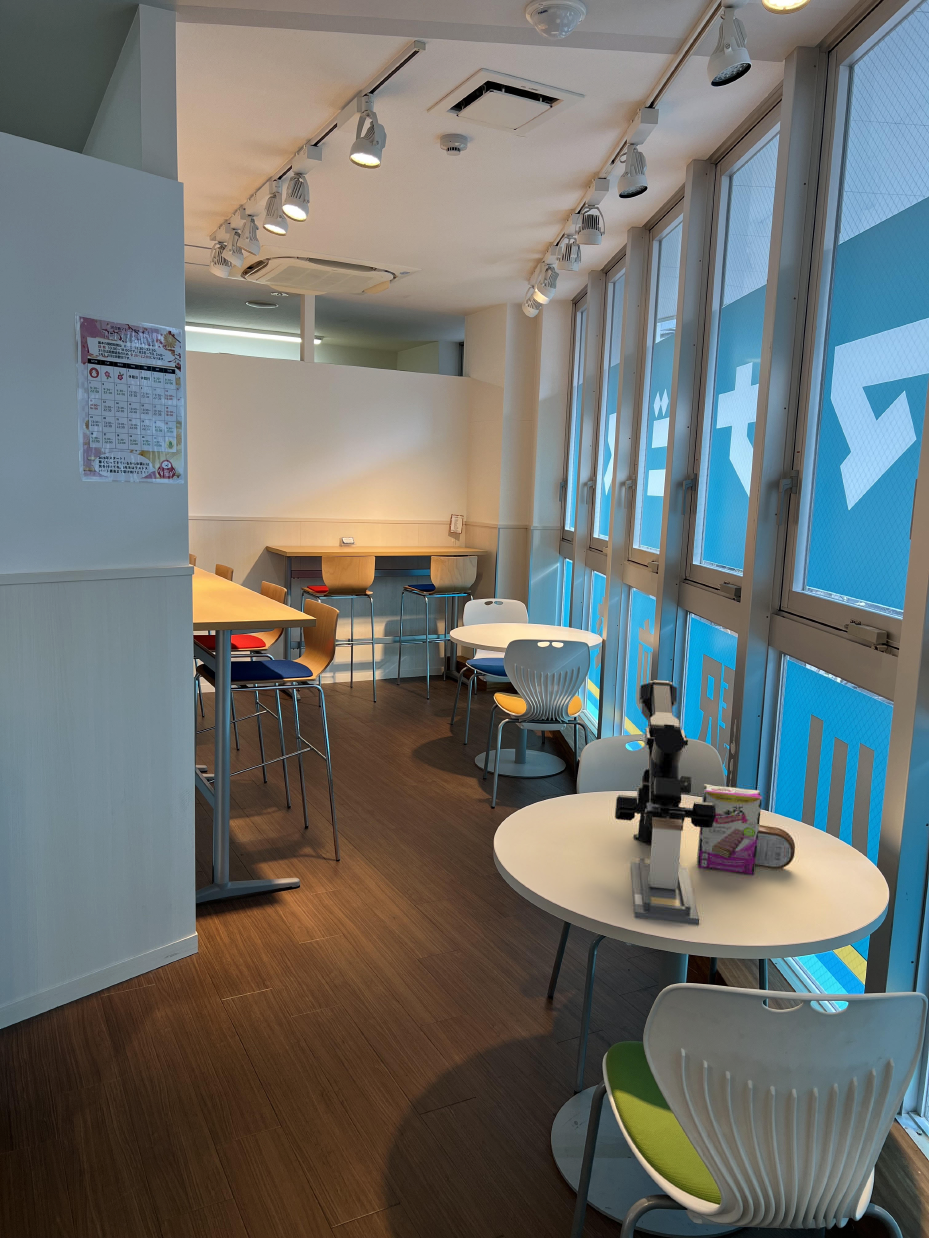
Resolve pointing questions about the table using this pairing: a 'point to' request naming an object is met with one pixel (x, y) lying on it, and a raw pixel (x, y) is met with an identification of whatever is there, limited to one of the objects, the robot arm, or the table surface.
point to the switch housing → (663, 896)
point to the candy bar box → (730, 830)
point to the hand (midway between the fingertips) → (664, 852)
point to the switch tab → (665, 852)
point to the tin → (774, 848)
